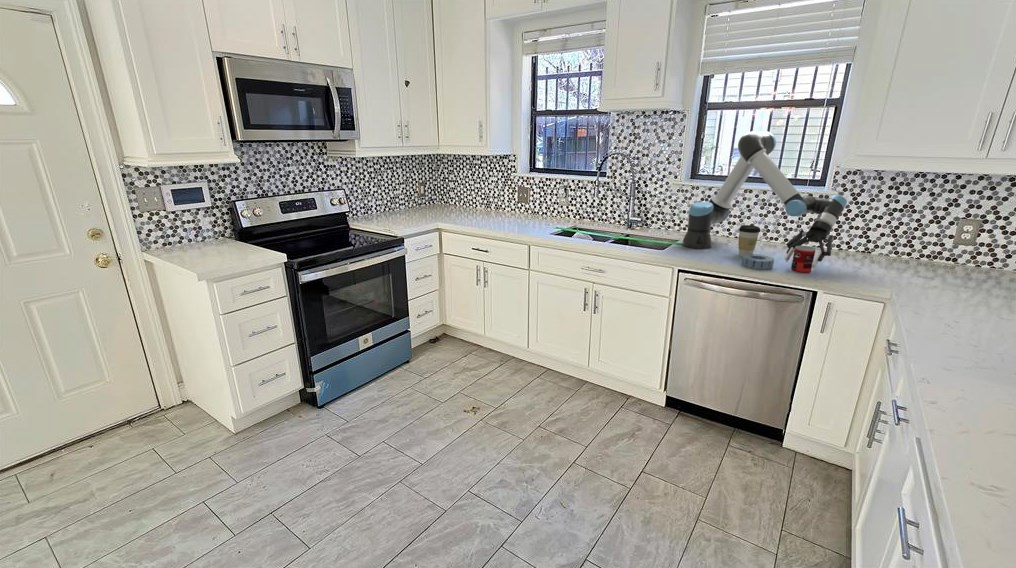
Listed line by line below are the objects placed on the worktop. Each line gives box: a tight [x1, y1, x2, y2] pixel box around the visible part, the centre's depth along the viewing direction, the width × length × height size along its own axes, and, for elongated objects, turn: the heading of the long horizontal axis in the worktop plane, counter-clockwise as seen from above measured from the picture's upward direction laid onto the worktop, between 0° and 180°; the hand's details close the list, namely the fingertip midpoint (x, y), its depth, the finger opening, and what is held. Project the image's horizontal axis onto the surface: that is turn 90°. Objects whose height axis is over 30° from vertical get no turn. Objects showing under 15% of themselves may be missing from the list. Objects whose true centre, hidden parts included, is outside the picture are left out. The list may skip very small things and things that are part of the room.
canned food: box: [790, 245, 816, 274], centre depth 211 cm, size 8×8×11 cm
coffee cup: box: [738, 224, 761, 258], centre depth 236 cm, size 10×10×15 cm
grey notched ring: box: [741, 253, 775, 271], centre depth 221 cm, size 13×13×4 cm
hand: (799, 263), depth 210 cm, fingers open, 11 cm apart
